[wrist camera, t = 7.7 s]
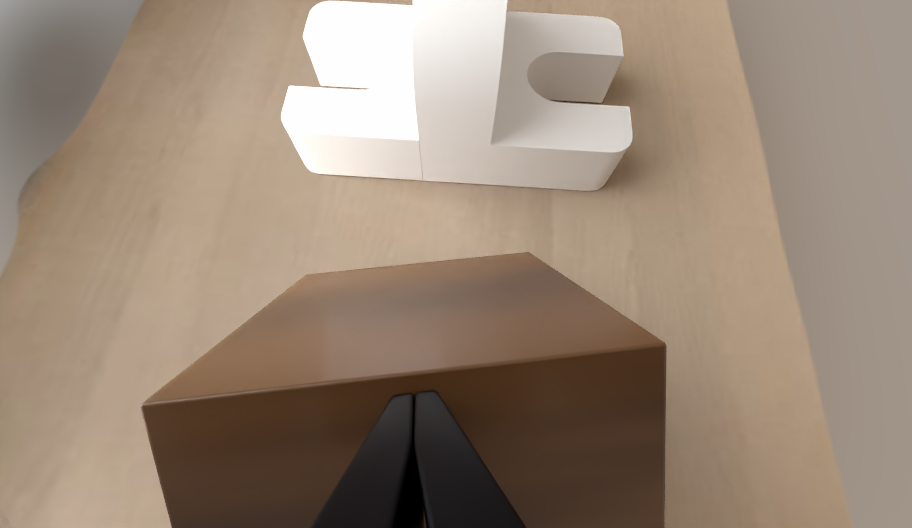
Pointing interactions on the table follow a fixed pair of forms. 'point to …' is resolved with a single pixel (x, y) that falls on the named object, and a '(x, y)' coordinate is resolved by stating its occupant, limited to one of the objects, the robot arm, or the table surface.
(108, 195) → the table surface
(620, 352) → the box
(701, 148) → the table surface
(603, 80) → the bracket
